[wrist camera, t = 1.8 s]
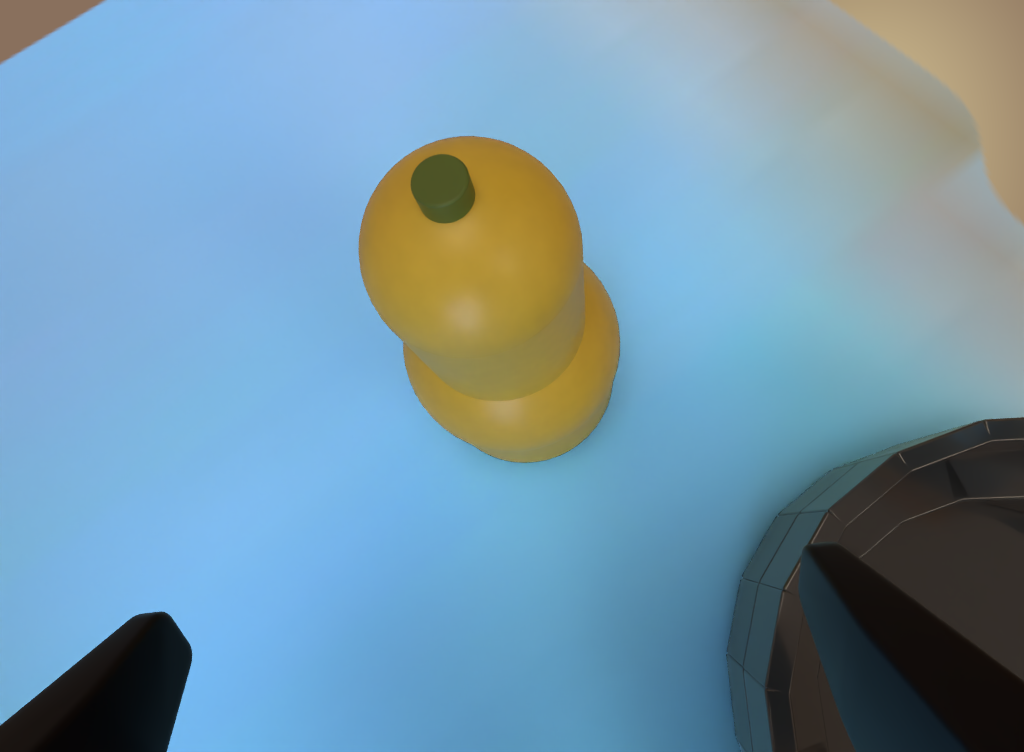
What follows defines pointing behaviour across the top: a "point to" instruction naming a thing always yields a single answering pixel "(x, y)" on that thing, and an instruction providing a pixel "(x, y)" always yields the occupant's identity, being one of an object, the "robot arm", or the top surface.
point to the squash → (491, 297)
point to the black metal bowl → (883, 571)
